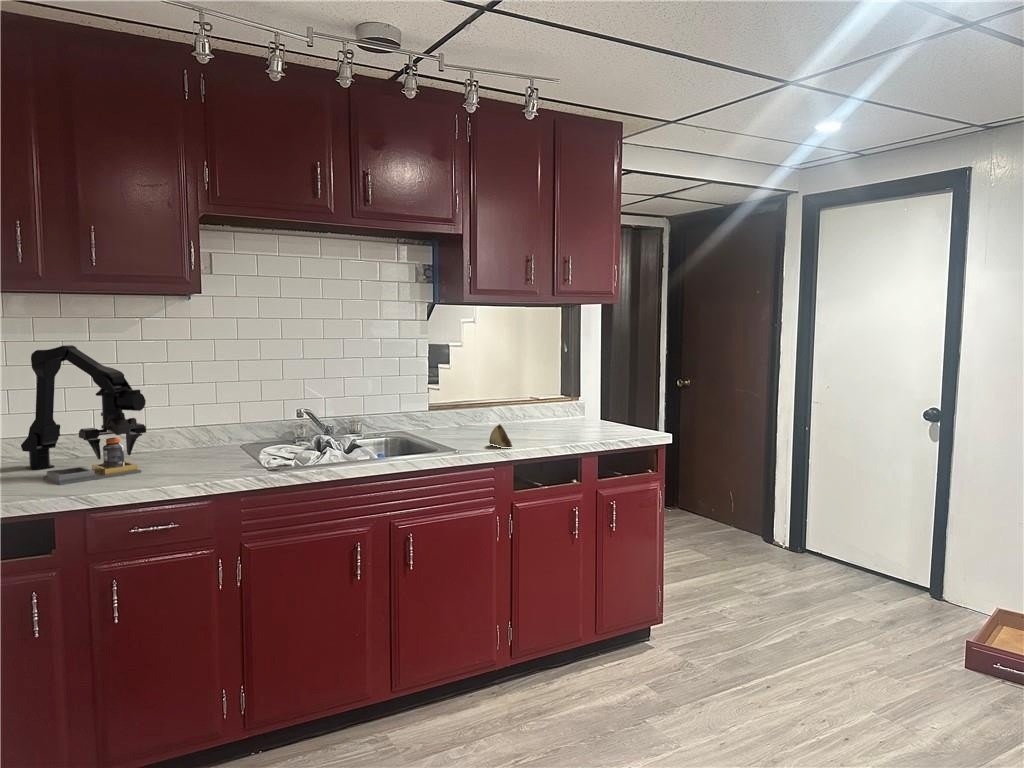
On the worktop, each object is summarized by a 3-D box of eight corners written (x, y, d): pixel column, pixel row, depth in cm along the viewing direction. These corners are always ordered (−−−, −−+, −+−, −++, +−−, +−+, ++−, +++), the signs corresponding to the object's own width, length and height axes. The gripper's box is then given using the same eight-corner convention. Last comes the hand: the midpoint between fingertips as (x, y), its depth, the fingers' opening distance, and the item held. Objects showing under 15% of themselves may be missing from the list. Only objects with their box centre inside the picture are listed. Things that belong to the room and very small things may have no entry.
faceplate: (43, 478, 225) (43, 470, 225) (123, 467, 244) (123, 459, 244) (59, 485, 217) (59, 476, 217) (141, 472, 236) (141, 464, 236)
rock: (482, 439, 293) (486, 440, 283) (494, 422, 294) (498, 422, 284) (503, 455, 294) (508, 456, 284) (515, 438, 295) (520, 438, 286)
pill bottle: (128, 470, 239) (126, 436, 238) (119, 474, 233) (117, 439, 232) (109, 470, 238) (108, 436, 237) (100, 474, 232) (98, 439, 231)
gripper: (91, 414, 221) (93, 464, 223) (153, 409, 236) (154, 456, 237) (77, 411, 228) (79, 460, 230) (137, 406, 243) (139, 452, 244)
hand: (114, 457), depth 235 cm, fingers open, 9 cm apart
